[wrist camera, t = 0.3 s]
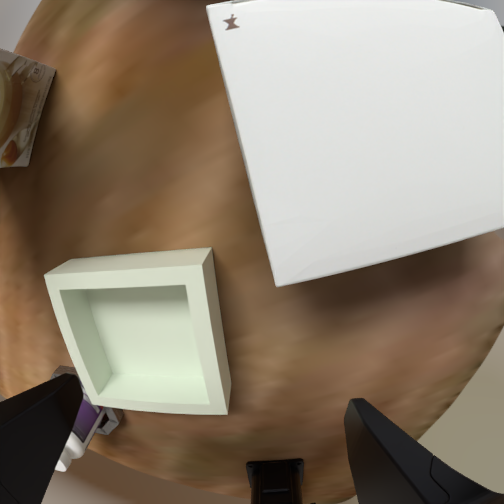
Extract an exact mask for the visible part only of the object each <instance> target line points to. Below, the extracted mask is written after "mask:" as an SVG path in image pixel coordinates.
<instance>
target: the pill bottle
mask: <svg viewBox="0 0 504 504" xmlns="http://www.w3.org/2000/svg"><path fill="white" fill-rule="evenodd" d="M82 390H83V394H84V396H83V401H82V403H81V406H80V409H79V412H78V415H77V418H76V421H75V424H74V427H73V429H72V432H71V434H70V437H69V439H68V441H67V443H66V445H65V447H64V450H63V452H62V454H61V456H60V459H59V461H58V463H57V466H56V468H55V469H56V470H58V471H62V472H63V471H66V470H67V468H68V466H69V465H70V464H71V458H72V459H76V458H80V457H81V456H82V455H83V454H84V452H85V450H86V448H87V447H88V445H89V443H90V441H91V439H92V437H93V435H94V433H95V432H96V430H97V428H98V426H99V424H100V422H101V420H102V419H103V417H104V415H105V412H106V411H105V409H104V407H103V406H99V405H93V404H92V403H91V401H90V399H89V397H88V395H87V393H86V391H85V389H84V388H82Z"/></svg>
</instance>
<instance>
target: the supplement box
mask: <svg viewBox="0 0 504 504" xmlns="http://www.w3.org/2000/svg"><path fill="white" fill-rule="evenodd" d="M206 10H207V14H208V19H209V23H210V27H211V31H212V35H213V39H214V43H215V47H216V52H217V56H218V60H219V64H220V69H221V73H222V77H223V81H224V85H225V89H226V93H227V97H228V101H229V105H230V109H231V113H232V117H233V121H234V125H235V129H236V133H237V137H238V141H239V145H240V149H241V153H242V156H243V160H244V164H245V168H246V172H247V176H248V180H249V184H250V188H251V192H252V196H253V200H254V204H255V208H256V211H257V215H258V219H259V223H260V227H261V231H262V235H263V239H264V242H265V246H266V250H267V254H268V258H269V262H270V265H271V269H272V273H273V277H274V281H275V285H276V286H277V287H281V286H285V285H290V284H294V283H299V282H304V281H308V280H313V279H317V278H321V277H326V276H330V275H334V274H338V273H342V272H346V271H350V270H354V269H358V268H362V267H366V266H370V265H374V264H378V263H382V262H386V261H390V260H393V259H397V258H401V257H405V256H408V255H412V254H416V253H419V252H423V251H427V250H430V249H434V248H437V247H441V246H444V245H448V244H451V243H455V242H458V241H461V240H465V239H468V238H471V237H475V236H478V235H481V234H485V233H488V232H492V231H495V230H498V229H501V228H504V33H503V30H502V28H501V26H500V23H499V21H498V19H497V17H496V15H495V13H494V11H492V10H490V9H486V8H483V7H479V6H475V5H471V4H467V3H462V2H457V1H453V0H235V1H229V2H224V3H218V4H212V5H208V6H206Z"/></svg>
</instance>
